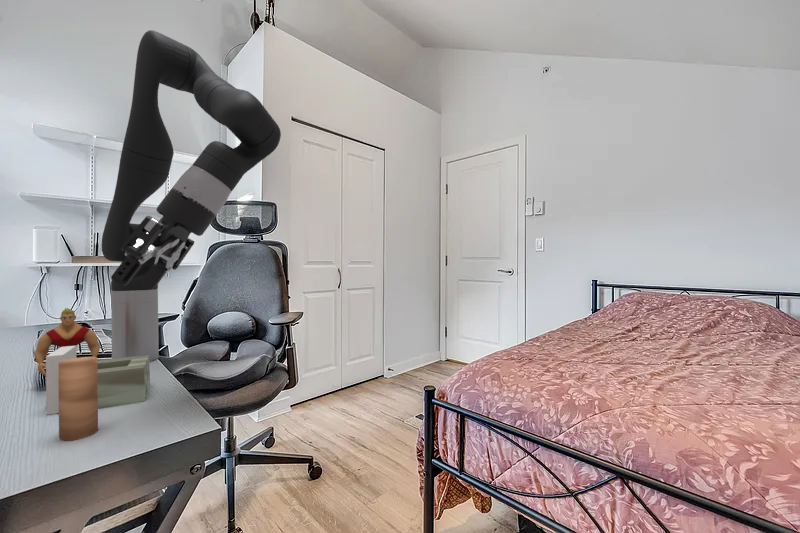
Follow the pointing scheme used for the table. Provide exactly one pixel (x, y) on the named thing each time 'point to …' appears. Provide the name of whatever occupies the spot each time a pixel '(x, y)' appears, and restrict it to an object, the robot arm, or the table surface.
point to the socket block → (123, 381)
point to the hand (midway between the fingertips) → (132, 284)
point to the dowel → (78, 398)
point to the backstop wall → (55, 376)
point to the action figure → (65, 338)
